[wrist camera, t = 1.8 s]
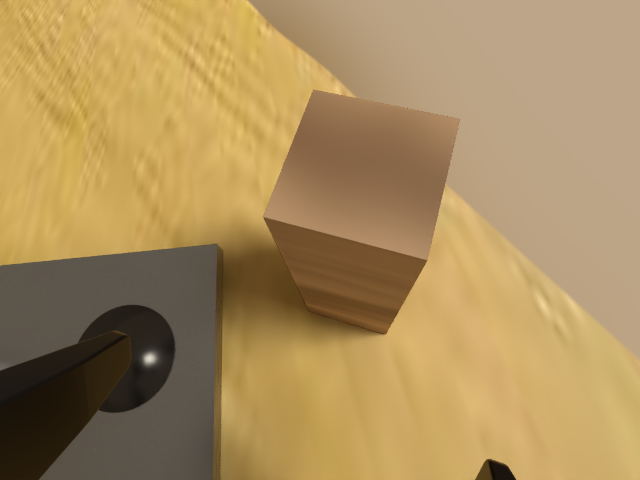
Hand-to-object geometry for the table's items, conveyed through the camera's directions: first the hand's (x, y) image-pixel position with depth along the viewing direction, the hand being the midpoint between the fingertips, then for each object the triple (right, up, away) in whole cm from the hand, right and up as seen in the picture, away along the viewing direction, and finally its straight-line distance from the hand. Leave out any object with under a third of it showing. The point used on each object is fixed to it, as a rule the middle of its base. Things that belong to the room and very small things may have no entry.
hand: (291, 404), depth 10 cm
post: (+3, +1, +14) cm, 14 cm away
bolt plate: (-14, -4, +13) cm, 19 cm away
